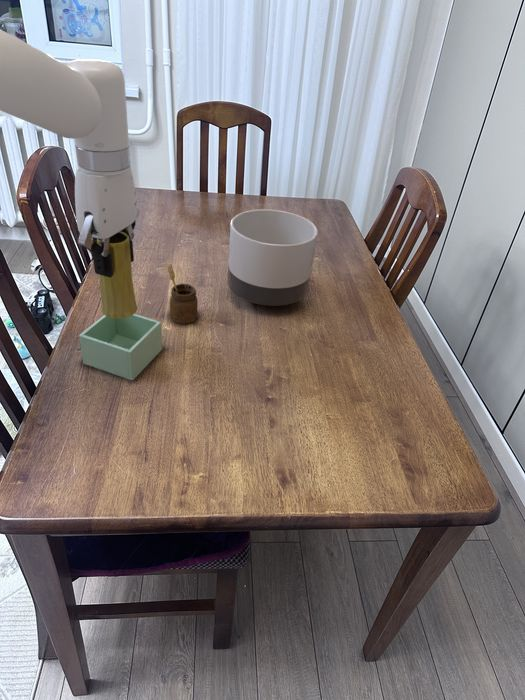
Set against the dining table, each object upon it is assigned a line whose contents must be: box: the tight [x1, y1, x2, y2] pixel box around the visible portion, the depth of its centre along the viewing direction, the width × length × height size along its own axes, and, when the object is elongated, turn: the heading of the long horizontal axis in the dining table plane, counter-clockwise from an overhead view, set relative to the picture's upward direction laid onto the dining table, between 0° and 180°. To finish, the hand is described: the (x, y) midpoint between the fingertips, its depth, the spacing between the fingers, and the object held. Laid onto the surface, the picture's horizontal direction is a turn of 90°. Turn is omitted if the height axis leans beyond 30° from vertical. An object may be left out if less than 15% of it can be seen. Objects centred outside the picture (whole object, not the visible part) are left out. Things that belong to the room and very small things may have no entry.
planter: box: [226, 208, 319, 307], centre depth 112 cm, size 19×19×18 cm
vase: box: [97, 231, 138, 319], centre depth 84 cm, size 6×6×14 cm
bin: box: [78, 313, 163, 381], centre depth 92 cm, size 11×11×7 cm
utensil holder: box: [167, 263, 198, 325], centre depth 103 cm, size 6×6×12 cm
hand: (114, 266), depth 83 cm, fingers closed on vase, 5 cm apart
